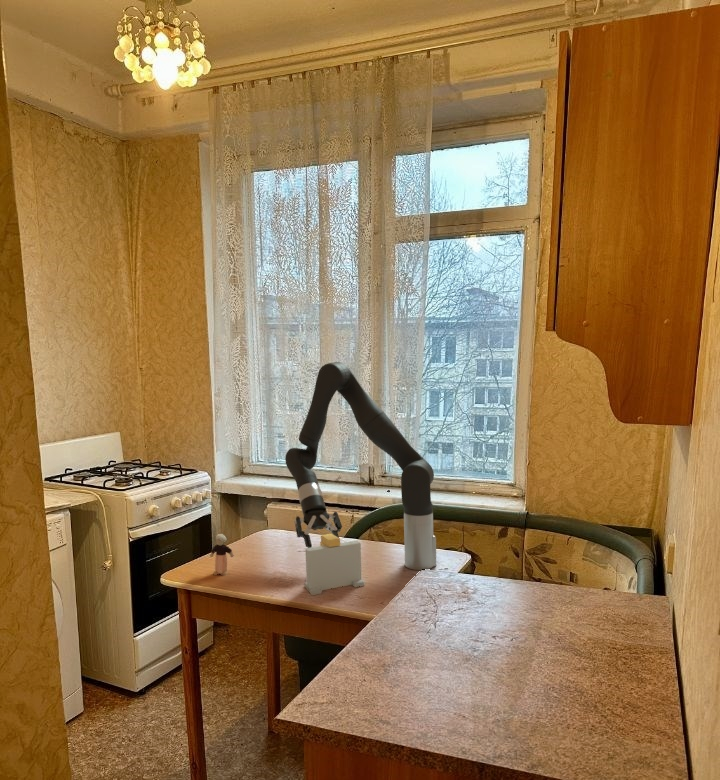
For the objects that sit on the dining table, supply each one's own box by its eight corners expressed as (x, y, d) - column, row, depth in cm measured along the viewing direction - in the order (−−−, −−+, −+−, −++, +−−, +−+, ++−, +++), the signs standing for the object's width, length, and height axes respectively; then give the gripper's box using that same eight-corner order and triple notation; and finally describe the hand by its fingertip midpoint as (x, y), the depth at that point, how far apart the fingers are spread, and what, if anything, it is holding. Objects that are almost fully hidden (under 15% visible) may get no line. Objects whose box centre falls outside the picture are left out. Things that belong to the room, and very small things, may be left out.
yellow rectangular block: (334, 573, 170) (332, 533, 170) (343, 580, 162) (340, 538, 163) (322, 575, 168) (319, 535, 169) (330, 582, 161) (327, 540, 161)
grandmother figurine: (208, 576, 174) (206, 536, 173) (211, 571, 177) (209, 532, 177) (233, 575, 174) (231, 535, 173) (235, 571, 178) (234, 531, 177)
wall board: (355, 577, 170) (354, 538, 169) (364, 585, 164) (363, 545, 163) (304, 586, 164) (303, 546, 164) (311, 595, 158) (310, 553, 157)
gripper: (292, 496, 176) (303, 543, 166) (334, 491, 182) (348, 536, 172) (288, 508, 181) (299, 554, 172) (329, 503, 187) (342, 548, 177)
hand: (323, 545), depth 172 cm, fingers open, 8 cm apart
